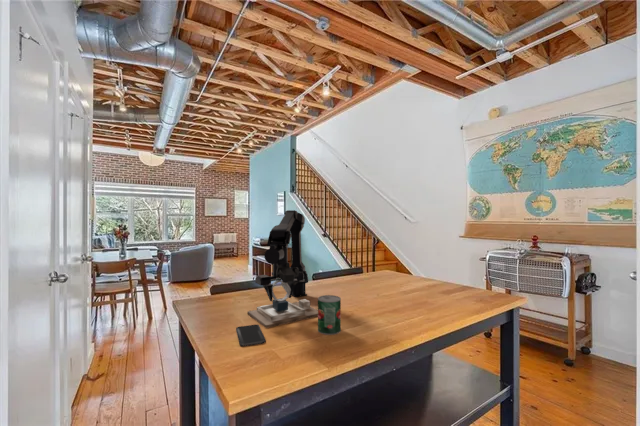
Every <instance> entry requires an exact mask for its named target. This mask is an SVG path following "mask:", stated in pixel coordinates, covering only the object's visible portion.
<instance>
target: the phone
mask: <svg viewBox="0 0 640 426" xmlns="http://www.w3.org/2000/svg"><path fill="white" fill-rule="evenodd" d="M235 331H236V335H237V339H238V342H239V346H240V347H243V348H244V347H250V346H256V345H257V346H258V345H263V344H265V343H267V342H266V337H265V336H264V333H263V331H262V329H261V326H260V325H259V324H250V325H244V326H243V325H242V326H237V327H236V329H235Z"/></svg>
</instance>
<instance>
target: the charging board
mask: <svg viewBox="0 0 640 426" xmlns="http://www.w3.org/2000/svg"><path fill="white" fill-rule="evenodd" d="M247 315H248V316H249V317H250V318H252V319H254V320H255V321H256V322H257V323H259V324H260V325H261V326H262V327H264V328H266V329H269V328H274V327H277V326H281V325H285V324H286V325H287V324H289V323H295V322H299V321H303V320H308V319H311V318H316V317H317V318H318V309H316V308H314V307H312V306H311V301H310V300H308V299H306V298H303V299H298V301H296V302H290V301H288V310H283V311H276V310H275V309H274V308H273V303H271V304H266V305H261V306H260V305H259V306H257V307H256V309H254V310H249V311H247Z"/></svg>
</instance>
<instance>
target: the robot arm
mask: <svg viewBox="0 0 640 426" xmlns="http://www.w3.org/2000/svg"><path fill="white" fill-rule="evenodd" d="M305 224H306V219H305V216H304V214H302V213H300V212H298V211H297V210H294V209H293V210H292V209H291V210H285V211H284V215H283V217H282V219H281V220H280V222H279V224H277V225H275V226H273V227H272V228H271V230H270V231H269V236H268V238H267V239H268V240H267V243H266V246H267V247H269V248H268V249H266V251H265V252H264V261H266V263H268V264H269V265H272V272H271V276H269V275H267V274H261V275H256V276H255V278H254V279H255V281H254V282H255V284H257V285H259V286H263V288H264V290H265V293H266V295H267V297H268V300H269V302H273V297H272V287H273V288H274V286H273V285H272V284H273V283H272V282H275V281H277V280H282V281H283V282H284V283H287V284H288V285H289V287H290V289H291V291H290V295H289V297H288V298H287V299H291V298H292V296H293V297H295V298H298V297H304V296H307V295H308V293H307V292H306V284H308V283H309V276H308V273H307V270H306V266H305V264H304V263H303V261H302V259H303V257H302V236H301V235H302V233H301V232H302V231H303V229H304V227H305ZM290 242H291V260H292V261H291V262H292V263H291V264H290V262H288V255H289V254H288V252H289V251H288V246H289V245H290Z"/></svg>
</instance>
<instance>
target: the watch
mask: <svg viewBox="0 0 640 426" xmlns="http://www.w3.org/2000/svg"><path fill="white" fill-rule="evenodd" d="M278 283H281V286H282V288H283V290H284V291H285V293H286V294H285V295H284V297H282V298H277V297H276V295H275V293H274V287H275V286H276V285H277V284H278ZM271 284H272V285H273V287H272V304H273V308H274V309H275V310H276V311H283V310H288V302H289V301H288V300H287V299H289V298H288V297H289V295H290V291H291V289H290V287H289V285H288V284H287V283H284V282H283V281H282V280H277V281H272V283H271Z"/></svg>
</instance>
